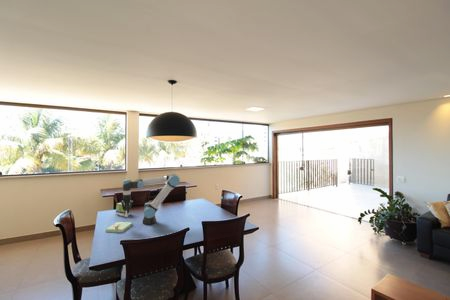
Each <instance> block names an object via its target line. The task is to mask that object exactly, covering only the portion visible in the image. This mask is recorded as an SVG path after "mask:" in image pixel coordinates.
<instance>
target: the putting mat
mask: <svg viewBox="0 0 450 300" xmlns="http://www.w3.org/2000/svg"><path fill="white" fill-rule="evenodd" d="M115 225H118V229H115ZM133 225H134V224H133V222H130V221H128V222H125V221H117V222H115V223H113V224H112V225H110V226H109V227H107V228H105V233H122V234H123V233H124V232H125V231H127V230H128V229H129V228H130V227H132V226H133Z"/></svg>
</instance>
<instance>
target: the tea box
mask: <svg viewBox="0 0 450 300" xmlns="http://www.w3.org/2000/svg"><path fill="white" fill-rule="evenodd" d="M124 206H125V204H124ZM129 206H130V202H129ZM115 215H116V216H121V217H125V210H123V208H122V204H121V202H116V206H115ZM130 215H131V209H130V210H129V213H128V216H130Z"/></svg>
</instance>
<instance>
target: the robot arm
mask: <svg viewBox="0 0 450 300" xmlns="http://www.w3.org/2000/svg"><path fill="white" fill-rule="evenodd" d="M180 182H181V179H180V177H179V176H178V175H177V174H175V173H172V174H168V175H165V176H158V177H150V178H140V179H139V178H138V179H136V180H134V181H132V180H131V179H124V180H122V200H120V202H119V203H121V204H122V208H123V210H125V216H124V217H125V218H128V217H129V215H128V213H129V210H130V211H131V209H132V206H133V203H134V200H132V198H131V197H132V196H131V194H132V193H131V191H132V189H143V186H151V185H158V184H165V185H164V186H163V188H162V189H161V190H160V191H159V193H158V194H157V195H156V197H155V198H154V199H153V201H152V202H151V201H150V202H145V203H144V210H143V215H144V216H143V219H142V224H143V225H144V226H145V225H146V226H147V225H154V224H156V223H157V218H156V213H157V211H158V210H159V207H160V206H161V204H162V203H163V201H165V199H166V197H167V196H168V195H169V193H170V192H172V190H174V189H175V188H176V186H178V185H179V184H180ZM129 203H130V206H129ZM124 204H125V206H124Z"/></svg>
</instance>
